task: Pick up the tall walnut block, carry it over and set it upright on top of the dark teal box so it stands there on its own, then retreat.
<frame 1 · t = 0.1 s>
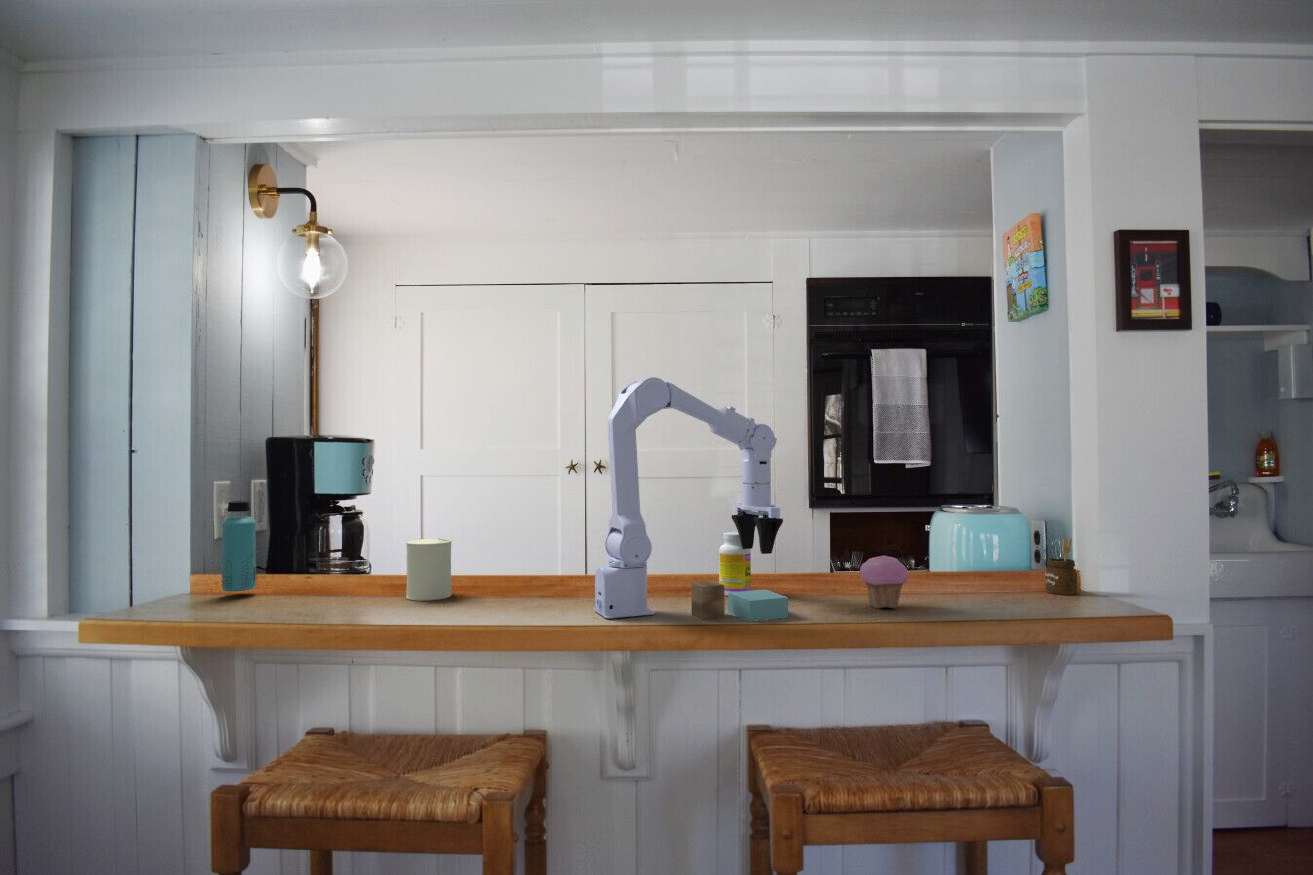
hand: (756, 551, 148), 10 cm above the counter, fingers open, 7 cm apart
can: (429, 597, 153), on the counter
teal base box: (757, 616, 135), on the counter
cupcake: (883, 608, 141), on the counter
walnut block: (707, 616, 134), on the counter
beverage bottle: (238, 596, 154), on the counter
supplement bottle: (735, 595, 155), on the counter
utensil holder: (1061, 593, 155), on the counter
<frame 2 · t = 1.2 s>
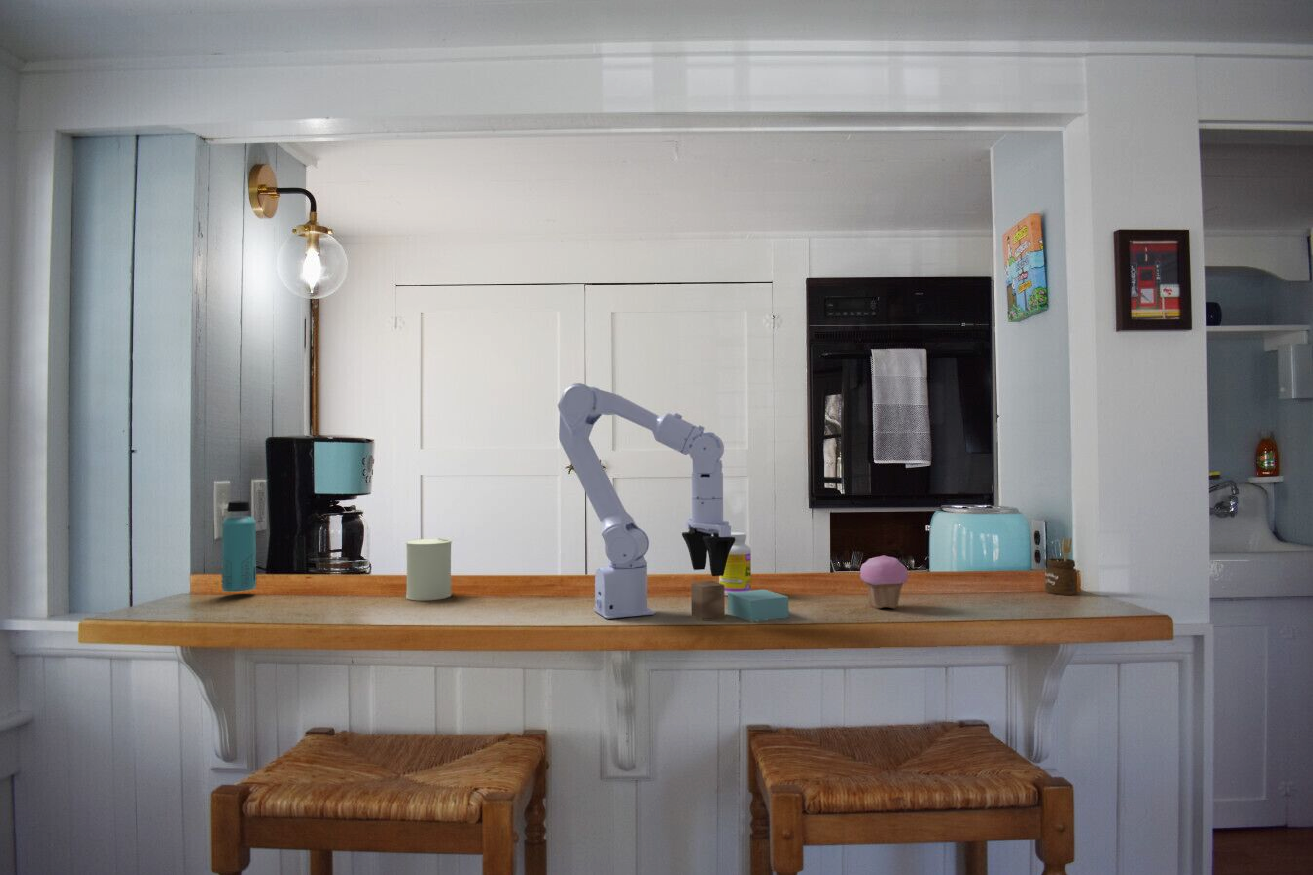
hand: (708, 572, 134), 8 cm above the counter, fingers open, 7 cm apart
nothing on the counter moved.
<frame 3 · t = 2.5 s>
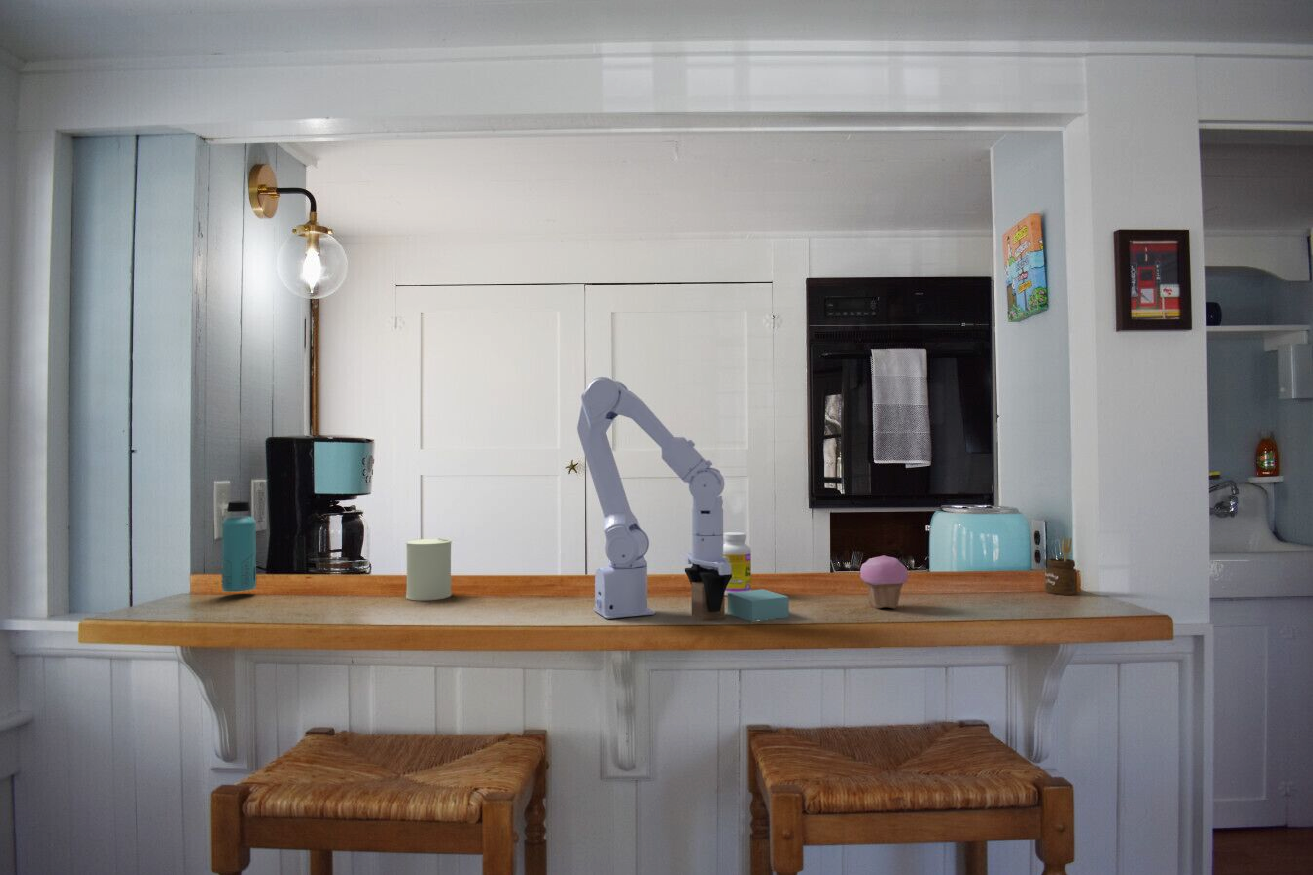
hand: (707, 608, 134), 1 cm above the counter, fingers closed on walnut block, 4 cm apart
walnut block: (707, 616, 134), on the counter, touching gripper
everything else where it was.
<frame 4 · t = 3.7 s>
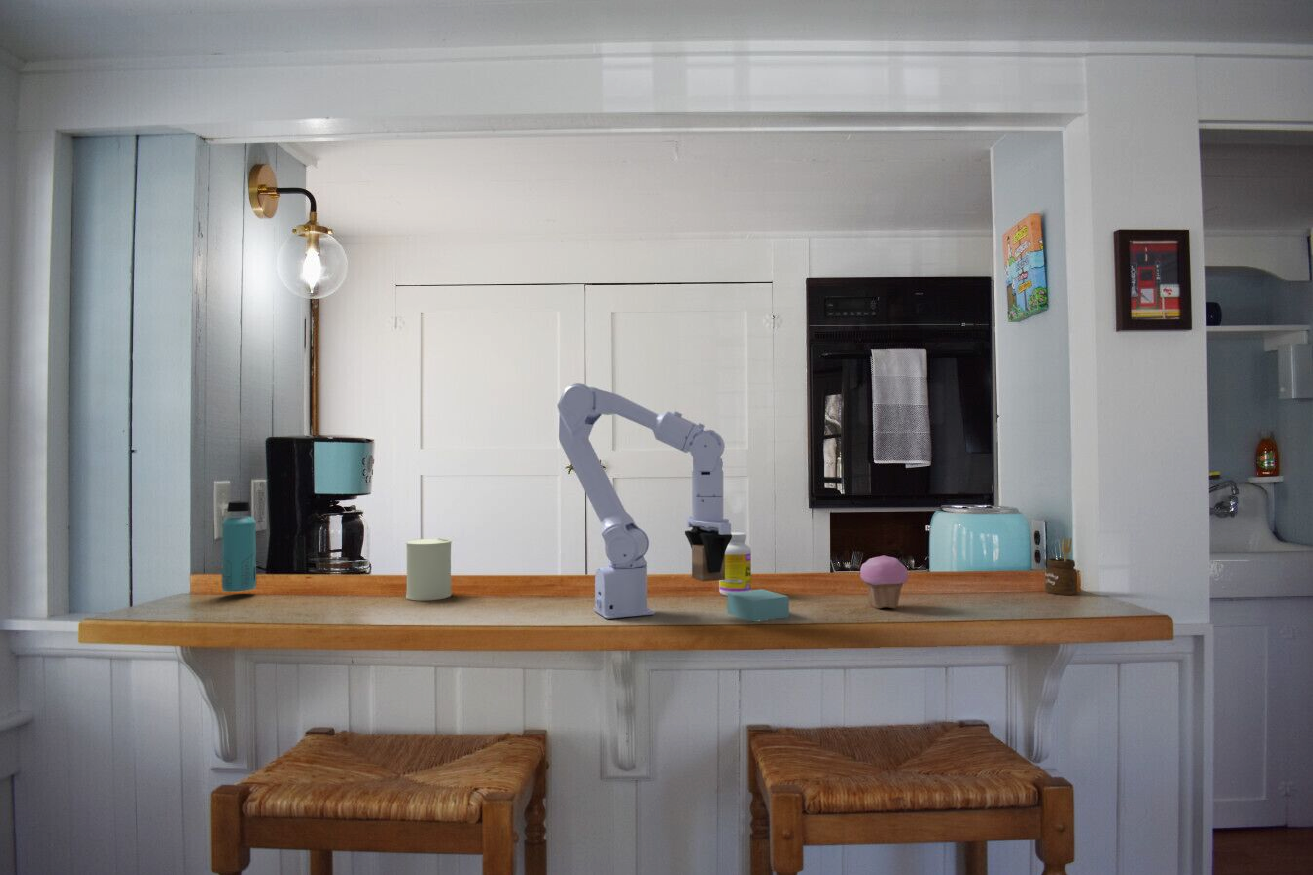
hand: (708, 570, 134), 8 cm above the counter, fingers closed on walnut block, 4 cm apart
walnut block: (708, 578, 134), point 7 cm above the counter, touching gripper
everything else where it was.
when the fingers open (7 cm above the counter, at t = 5.2 s): walnut block drops 2 cm, point 4 cm above the counter.
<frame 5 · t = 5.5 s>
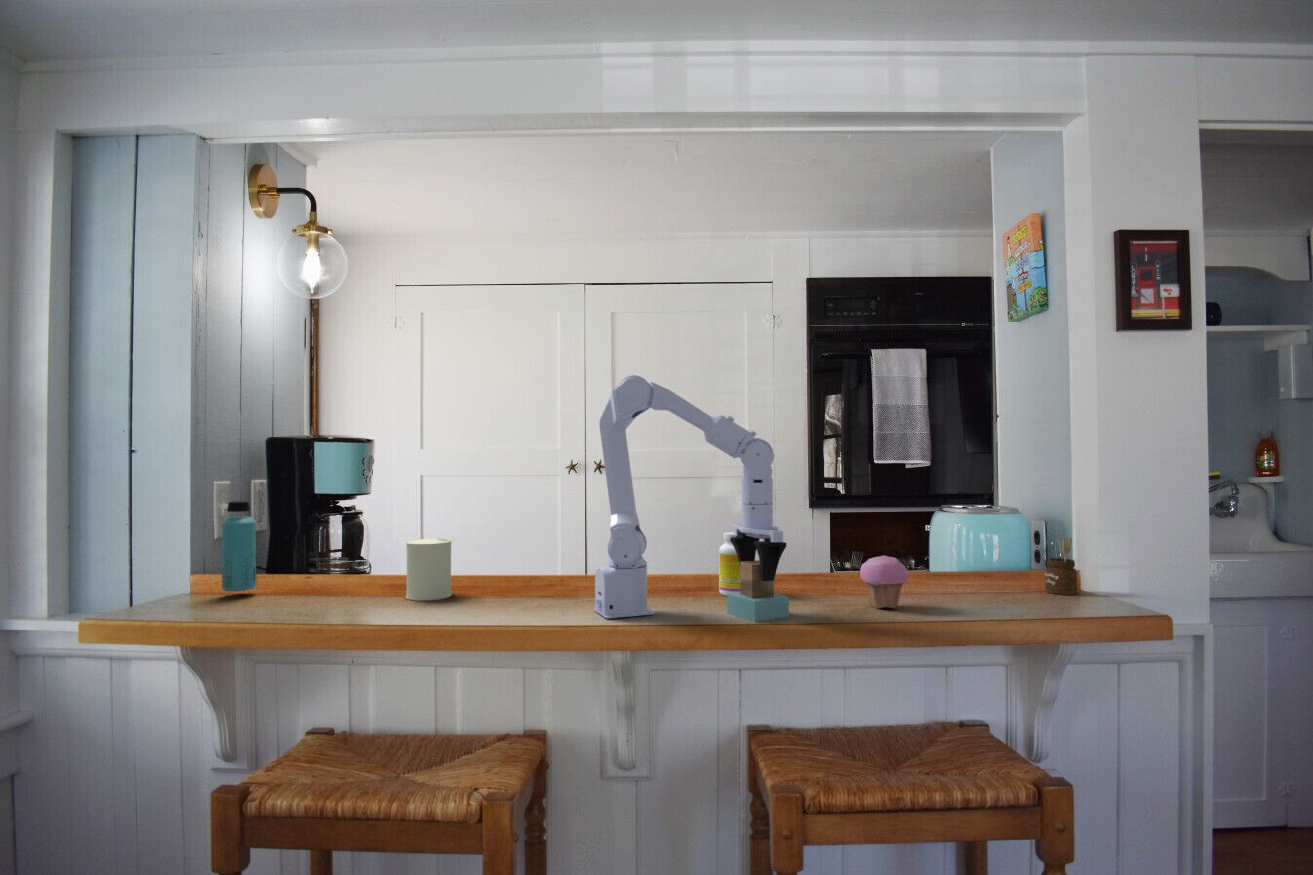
hand: (757, 577, 135), 7 cm above the counter, fingers open, 7 cm apart
walnut block: (757, 595, 135), point 4 cm above the counter
everything else where it was.
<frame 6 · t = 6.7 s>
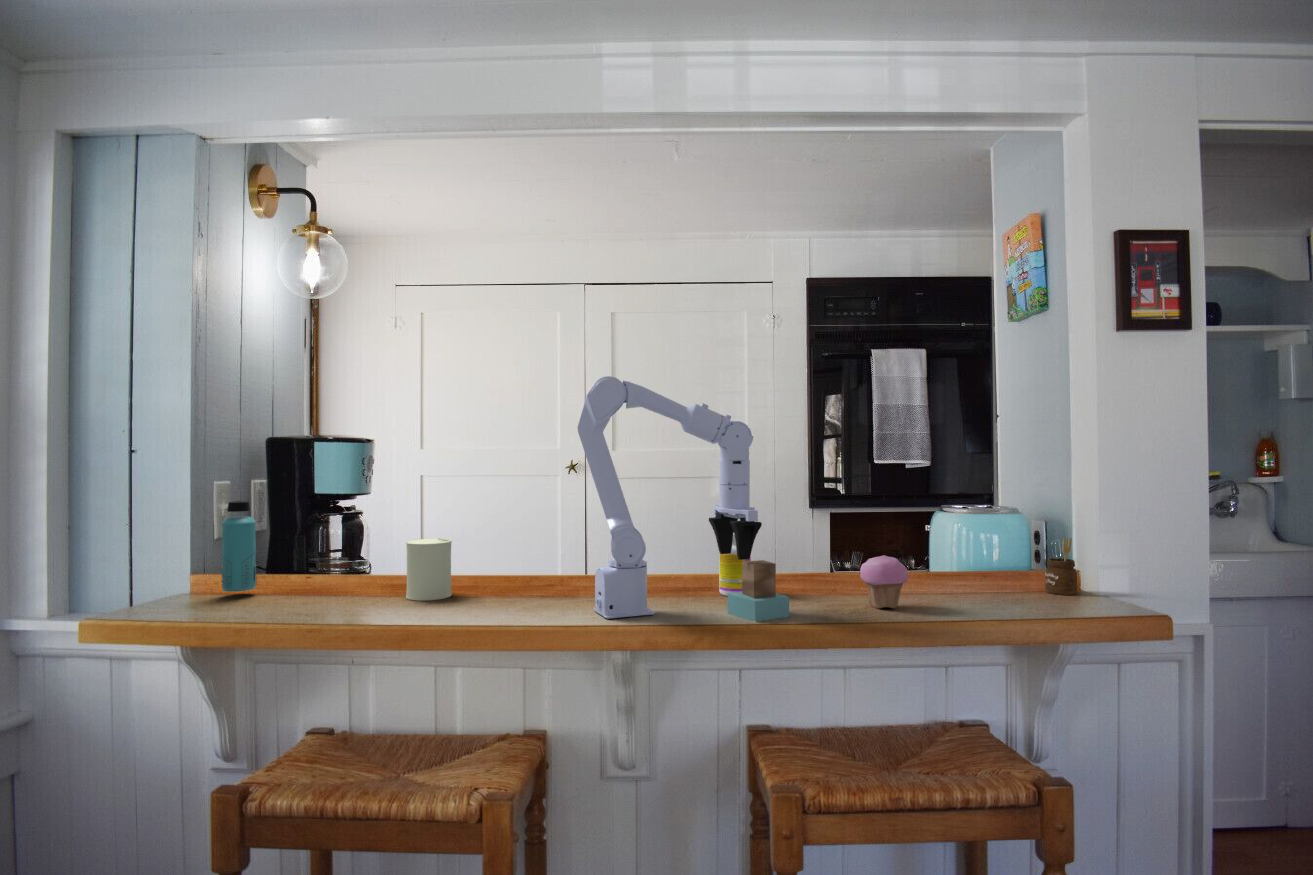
hand: (734, 556, 139), 10 cm above the counter, fingers open, 7 cm apart
teal base box: (758, 616, 135), on the counter, touching walnut block
walnut block: (758, 595, 135), point 4 cm above the counter, touching teal base box
everything else where it was.
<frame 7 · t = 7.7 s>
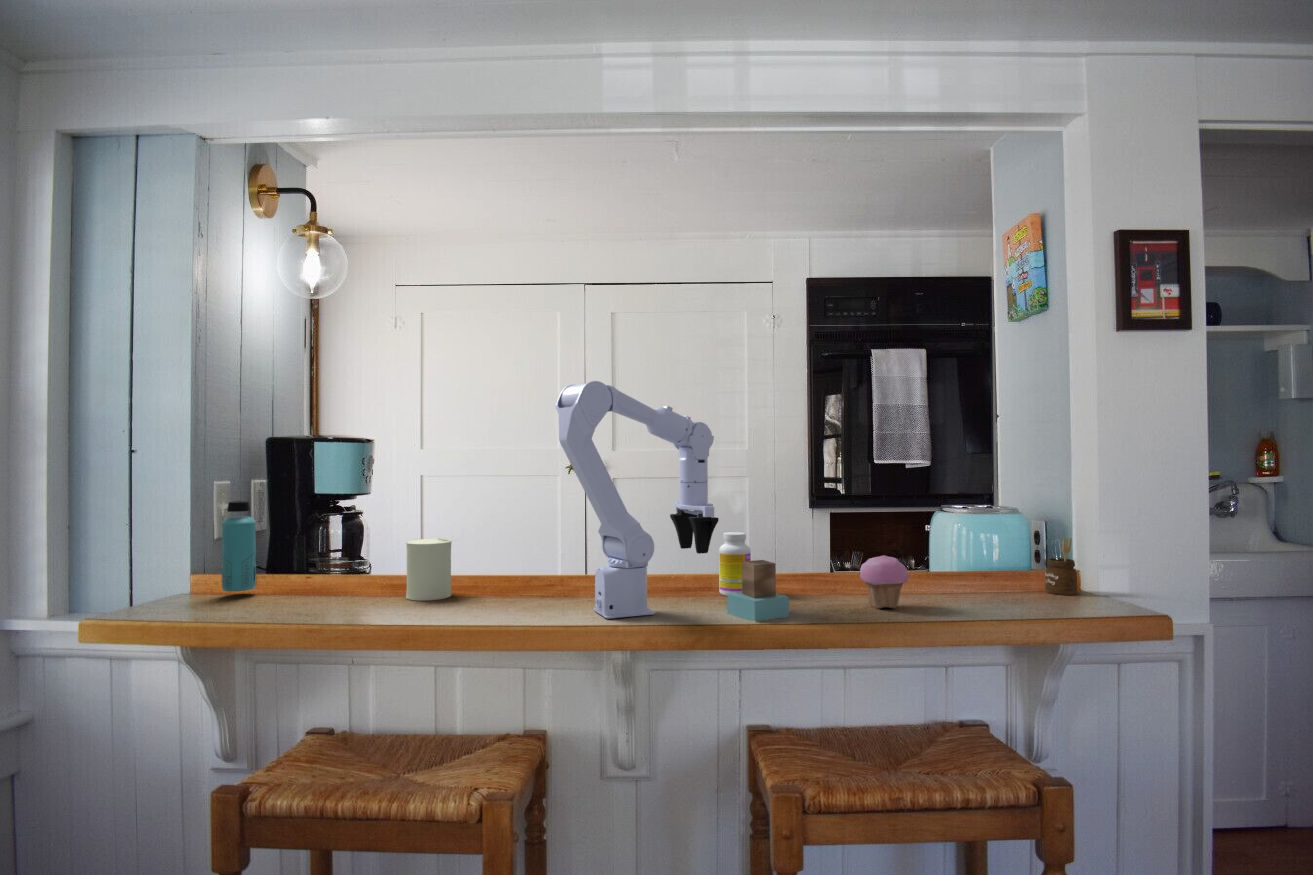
hand: (693, 550, 146), 10 cm above the counter, fingers open, 7 cm apart
nothing on the counter moved.
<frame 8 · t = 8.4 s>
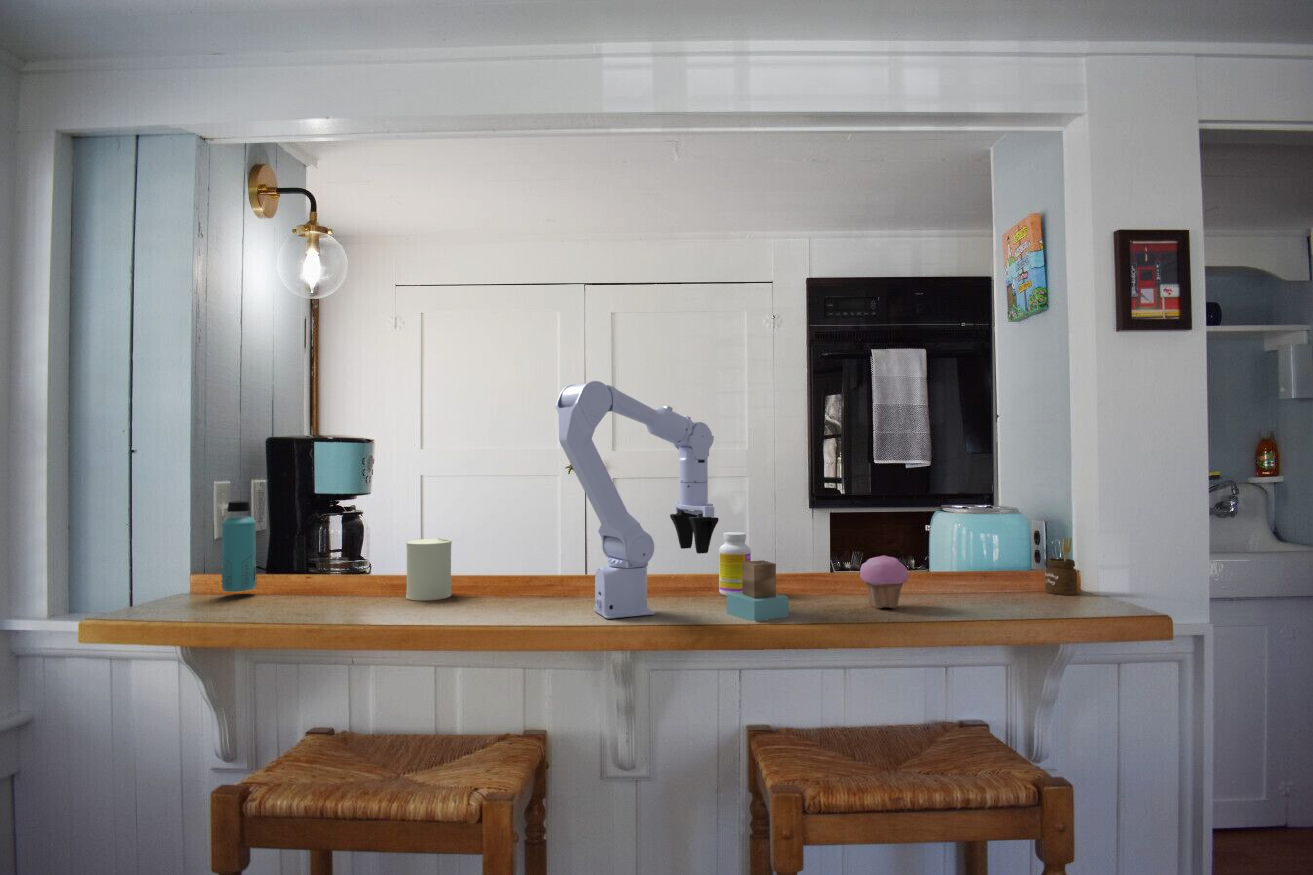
hand: (693, 550, 146), 10 cm above the counter, fingers open, 7 cm apart
nothing on the counter moved.
at the end: walnut block 0.2 cm off-centre on the teal base box, point 4.0 cm above the teal base box's base; walnut block tilted 0°; the gripper is holding nothing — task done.
